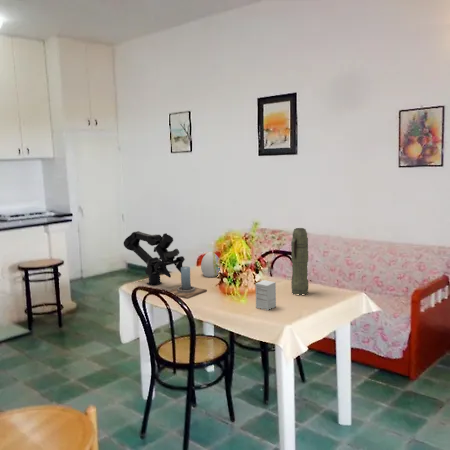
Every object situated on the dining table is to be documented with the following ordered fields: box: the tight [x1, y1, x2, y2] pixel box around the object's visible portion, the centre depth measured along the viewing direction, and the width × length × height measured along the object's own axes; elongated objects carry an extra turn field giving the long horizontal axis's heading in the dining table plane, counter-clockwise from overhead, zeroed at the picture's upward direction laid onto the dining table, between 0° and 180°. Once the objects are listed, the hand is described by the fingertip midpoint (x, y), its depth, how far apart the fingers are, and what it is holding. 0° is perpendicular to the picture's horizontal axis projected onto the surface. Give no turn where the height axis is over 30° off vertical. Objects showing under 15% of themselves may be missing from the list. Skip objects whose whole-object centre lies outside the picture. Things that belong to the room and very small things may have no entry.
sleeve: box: [180, 266, 192, 290], centre depth 267 cm, size 5×5×13 cm
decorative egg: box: [200, 251, 221, 278], centre depth 303 cm, size 12×12×15 cm
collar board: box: [169, 285, 208, 300], centre depth 268 cm, size 16×16×2 cm
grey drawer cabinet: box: [255, 279, 277, 311], centre depth 239 cm, size 7×7×13 cm
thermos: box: [290, 227, 309, 296], centre depth 260 cm, size 9×12×35 cm
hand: (176, 275), depth 272 cm, fingers open, 9 cm apart
